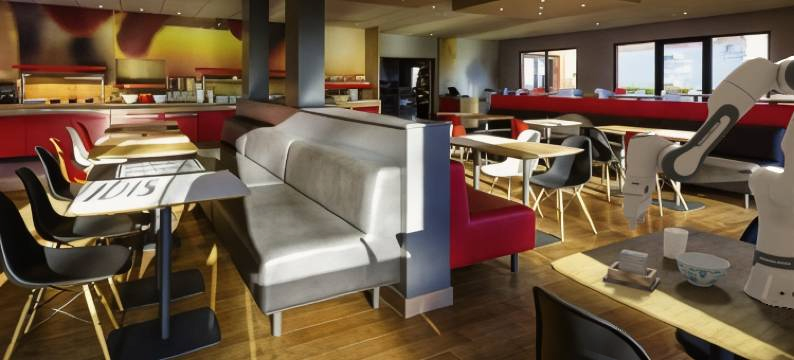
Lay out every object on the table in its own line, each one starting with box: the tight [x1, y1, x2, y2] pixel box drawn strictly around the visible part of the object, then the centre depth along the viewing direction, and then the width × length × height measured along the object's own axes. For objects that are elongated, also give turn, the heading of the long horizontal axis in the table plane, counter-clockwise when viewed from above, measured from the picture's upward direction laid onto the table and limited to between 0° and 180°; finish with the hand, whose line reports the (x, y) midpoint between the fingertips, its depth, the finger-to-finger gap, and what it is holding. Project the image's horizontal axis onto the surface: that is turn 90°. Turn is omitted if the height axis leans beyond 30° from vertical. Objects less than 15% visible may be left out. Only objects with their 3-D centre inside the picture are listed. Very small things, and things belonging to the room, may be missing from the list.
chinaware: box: [675, 252, 731, 288], centre depth 170 cm, size 15×15×8 cm
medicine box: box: [618, 249, 649, 276], centre depth 171 cm, size 8×4×9 cm, turn 53°
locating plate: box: [602, 261, 661, 293], centre depth 172 cm, size 15×11×4 cm
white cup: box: [663, 227, 689, 260], centre depth 194 cm, size 8×8×10 cm
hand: (636, 226), depth 169 cm, fingers open, 8 cm apart
